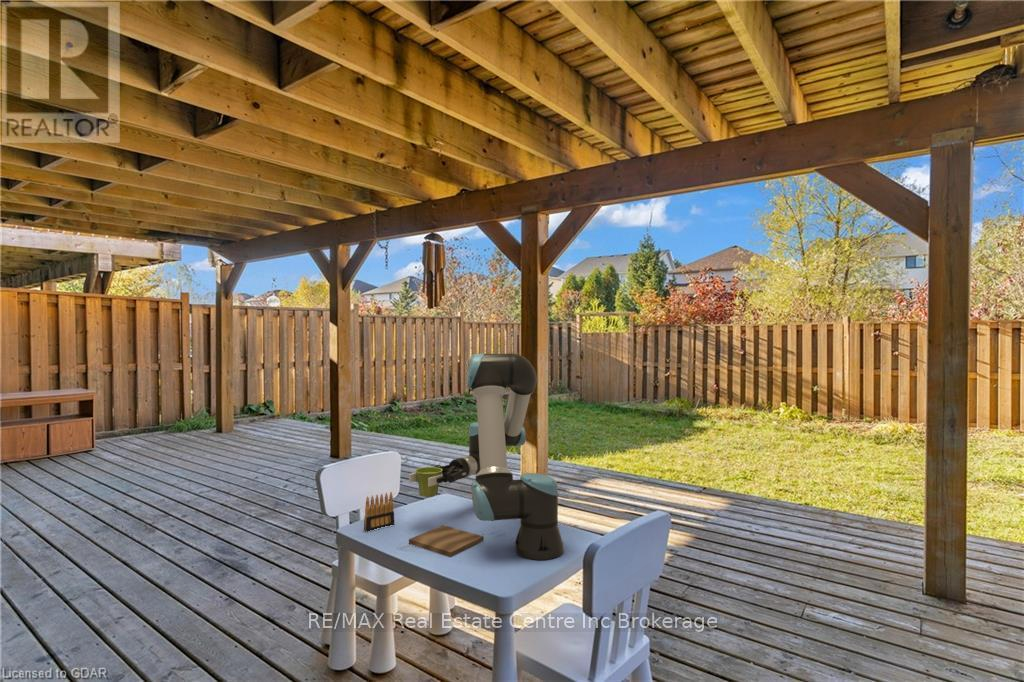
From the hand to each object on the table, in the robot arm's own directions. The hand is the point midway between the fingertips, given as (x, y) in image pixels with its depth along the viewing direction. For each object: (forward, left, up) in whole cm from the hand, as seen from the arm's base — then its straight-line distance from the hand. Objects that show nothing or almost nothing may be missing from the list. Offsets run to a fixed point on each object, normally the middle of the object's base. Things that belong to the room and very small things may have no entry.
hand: (419, 480), depth 177 cm
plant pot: (0, -5, -6) cm, 8 cm away
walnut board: (-13, +1, -18) cm, 22 cm away
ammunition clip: (+15, +5, -18) cm, 24 cm away
